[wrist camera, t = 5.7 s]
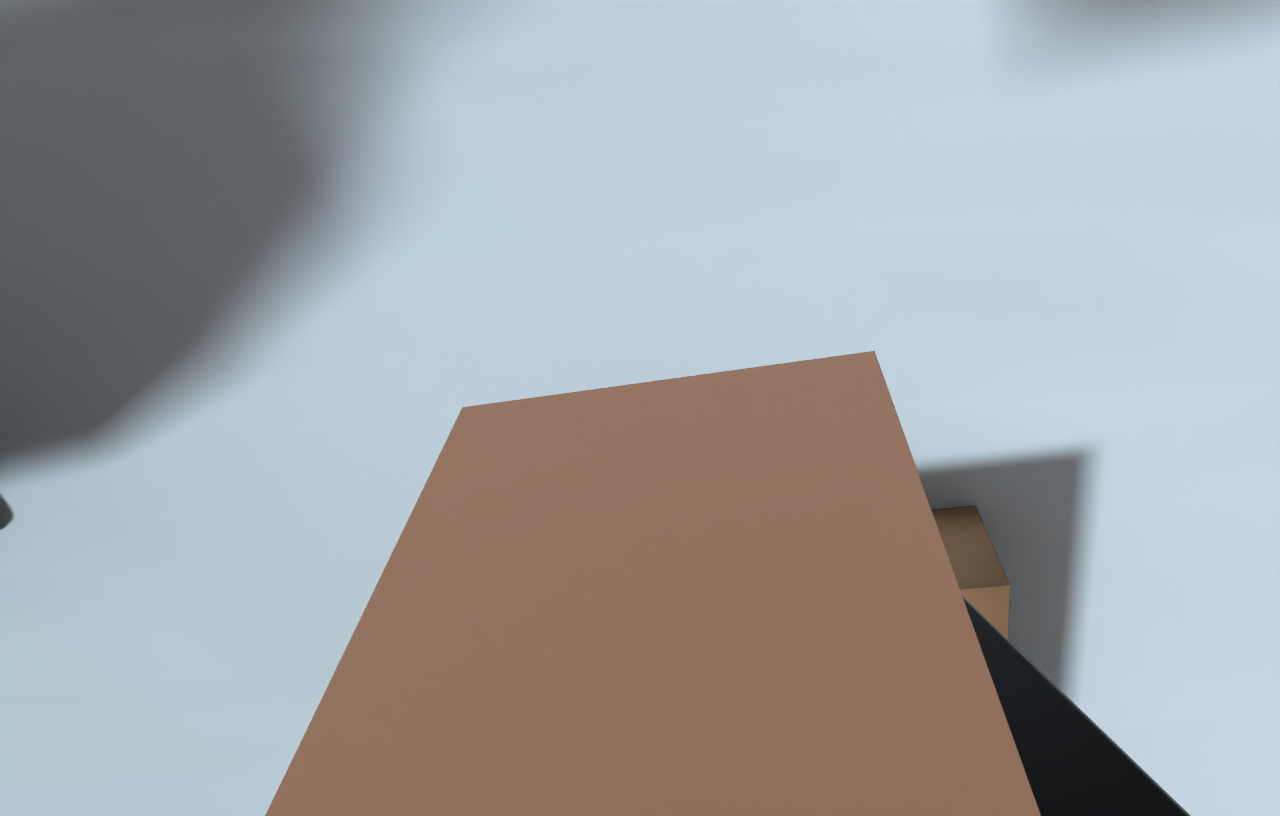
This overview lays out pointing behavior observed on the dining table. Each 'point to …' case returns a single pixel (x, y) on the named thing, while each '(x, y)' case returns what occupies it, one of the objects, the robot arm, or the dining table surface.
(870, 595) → the terracotta block
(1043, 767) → the robot arm
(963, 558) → the walnut base
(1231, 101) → the dining table surface
